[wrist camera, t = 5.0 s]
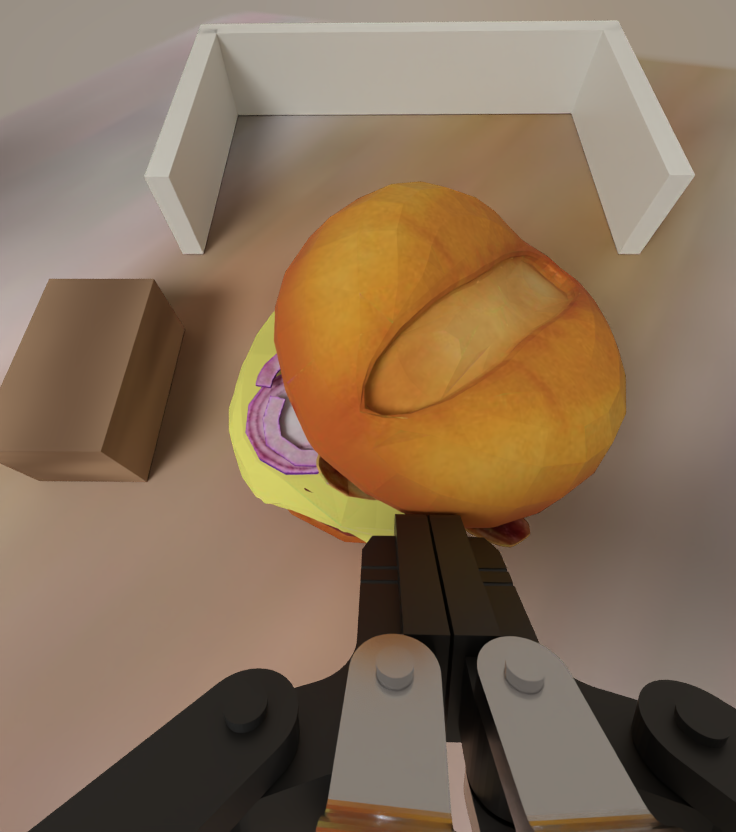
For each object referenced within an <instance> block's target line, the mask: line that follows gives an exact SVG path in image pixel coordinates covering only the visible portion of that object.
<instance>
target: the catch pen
mask: <svg viewBox="0 0 736 832" xmlns="http://www.w3.org/2000/svg"><path fill="white" fill-rule="evenodd" d="M560 113H571V114H572V117H573V120H574V123H575V126H576V129H577V132H578V135H579V138H580V141H581V144H582V147H583V150H584V153H585V156H586V159H587V162H588V165H589V168H590V171H591V174H592V177H593V180H594V183H595V186H596V189H597V192H598V195H599V198H600V201H601V204H602V207H603V210H604V213H605V215H606V218H607V221H608V224H609V227H610V230H611V233H612V236H613V239H614V242H615V245H616V248H617V251H618V254H640V253H641V251H642V250H643V248H644V247H645V246H646V244H647V243H648V241H649V240H650V238H651V237H652V236H653V234H654V233H655V231H656V230H657V229H658V227H659V226H660V224H661V223H662V221H663V220H664V219H665V217H666V216H667V214H668V213H669V212H670V210H671V209H672V207H673V206H674V204H675V203H676V202H677V200H678V199H679V197H680V196H681V195H682V193H683V192H684V190H685V189H686V187H687V186H688V185H689V183H690V182H691V180H692V179H693V178H694V176H695V174H694V172H693V170H692V168H691V166H690V164H689V162H688V160H687V158H686V156H685V154H684V152H683V150H682V148H681V146H680V144H679V142H678V140H677V138H676V136H675V134H674V132H673V130H672V128H671V126H670V124H669V122H668V120H667V118H666V116H665V114H664V112H663V110H662V108H661V106H660V104H659V102H658V100H657V98H656V96H655V94H654V92H653V90H652V88H651V86H650V84H649V82H648V79H647V77H646V75H645V73H644V71H643V69H642V67H641V65H640V63H639V61H638V59H637V57H636V55H635V53H634V51H633V49H632V47H631V45H630V44H629V41H628V39H627V37H626V35H625V33H624V31H623V30H622V27H621V25H620V23H619V21H618V20H612V21H610V20H609V21H502V22H500V21H498V22H496V21H495V22H493V21H492V22H377V23H260V24H201V25H200V28H199V30H198V33H197V36H196V38H195V41H194V44H193V47H192V49H191V52H190V55H189V57H188V60H187V63H186V65H185V68H184V71H183V73H182V76H181V79H180V81H179V84H178V87H177V89H176V92H175V95H174V97H173V100H172V103H171V105H170V108H169V111H168V114H167V116H166V119H165V122H164V124H163V127H162V130H161V132H160V135H159V138H158V140H157V143H156V146H155V148H154V151H153V154H152V156H151V159H150V162H149V164H148V167H147V170H146V172H145V175H144V178H145V180H146V182H147V184H148V186H149V188H150V190H151V192H152V194H153V196H154V198H155V200H156V202H157V204H158V206H159V208H160V210H161V212H162V213H163V215H164V217H165V219H166V221H167V223H168V225H169V227H170V229H171V231H172V233H173V235H174V237H175V239H176V241H177V243H178V245H179V247H180V249H181V251H182V253H183V254H204V250H205V246H206V242H207V238H208V234H209V230H210V226H211V222H212V218H213V214H214V210H215V206H216V201H217V197H218V193H219V189H220V185H221V181H222V177H223V173H224V169H225V165H226V161H227V157H228V153H229V149H230V145H231V141H232V137H233V133H234V129H235V125H236V121H237V117H238V115H368V114H560Z"/></svg>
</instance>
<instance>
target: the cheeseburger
mask: <svg viewBox="0 0 736 832" xmlns="http://www.w3.org/2000/svg"><path fill="white" fill-rule="evenodd" d="M625 414H626V375H625V372H624V368H623V364H622V361H621V357H620V353H619V350H618V347H617V344H616V342H615V339H614V337H613V334H612V332H611V329H610V327H609V324H608V323H607V321H606V319H605V318H604V316H603V314H602V312H601V311H600V309H599V307H598V306H597V304H596V302H595V301H594V299H593V298H592V297H591V296H590V294H589V293H588V292H587V291H586V290H585V288H584V287H583V286H582V285H581V284H580V283H579V282H578V281H577V280H576V279H575V278H573V277H572V276H571V275H569V274H568V273H566V272H565V271H564V270H562V269H561V268H560V267H559V266H558V265H556V264H555V263H554V262H553V261H552V260H551V259H550V258H548V257H547V256H546V255H544V254H543V253H541V252H540V251H538V250H537V249H535V248H534V247H532V246H531V245H529V244H527V243H526V242H524V241H523V240H522V239H521V238H520V237H519V236H518V235H517V234H516V233H515V232H514V231H513V230H512V229H511V228H510V227H509V226H508V225H507V224H506V223H505V222H504V221H503V219H502V218H501V217H500V216H499V215H498V214H497V213H496V212H495V211H494V210H492V209H491V208H490V207H488V206H487V205H485V204H484V203H483V202H481V201H480V200H478V199H477V198H475V197H473V196H470V195H467V194H464V193H461V192H458V191H455V190H452V189H449V188H446V187H442V186H438V185H434V184H430V183H425V182H410V183H398V184H391V185H388V186H386V187H384V188H381V189H379V190H377V191H374V192H372V193H370V194H367V195H365V196H363V197H360V198H358V199H357V200H355V201H354V202H352V203H351V204H349V205H348V206H346V207H345V208H343V209H342V210H340V211H339V212H337V213H336V214H334V215H333V216H331V217H330V218H329V219H328V220H327V221H326V222H325V223H324V224H323V225H322V226H321V227H320V228H318V229H317V230H316V231H315V232H314V233H313V234H312V235H311V236H310V237H309V239H308V240H307V242H306V243H305V244H304V246H303V247H302V249H301V250H300V252H299V253H298V254H297V256H296V257H295V259H294V260H293V262H292V263H291V265H290V266H289V267H288V269H287V270H286V272H285V275H284V278H283V281H282V285H281V288H280V292H279V295H278V299H277V302H276V306H275V311H274V312H273V313H272V315H271V316H270V317H269V319H268V320H267V321H266V323H265V324H264V325H263V327H262V328H261V329H260V331H259V332H258V334H257V335H256V337H255V340H254V342H253V344H252V346H251V348H250V351H249V353H248V355H247V357H246V359H245V361H244V362H243V364H242V367H241V371H240V374H239V377H238V380H237V383H236V386H235V392H234V395H233V398H232V401H231V404H230V407H229V433H230V437H231V441H232V445H233V449H234V453H235V456H236V459H237V462H238V465H239V469H240V472H241V475H242V477H243V479H244V480H245V482H246V483H247V485H248V486H249V487H250V489H251V490H252V492H253V493H254V495H255V496H256V497H257V498H260V499H261V500H262V501H263V502H264V503H266V504H273V505H276V506H279V507H282V508H285V509H288V510H289V512H290V513H291V514H292V515H294V516H296V517H298V518H300V519H302V520H304V521H306V522H308V523H309V524H311V525H313V526H315V527H317V528H319V529H321V530H323V531H325V532H327V533H329V534H331V535H333V536H335V537H336V538H338V539H340V540H342V541H344V542H358V543H367V542H368V541H369V539H370V538H371V537H372V536H394V519H395V514H425V515H426V516H428V514H432V515H460V516H461V519H462V522H463V525H464V528H465V530H466V531H467V532H469V533H471V534H472V535H474V536H476V537H484V538H485V539H486V540H487V541H489V542H490V543H493V544H496V545H499V546H505V547H512V546H515V545H517V544H518V543H520V542H522V541H523V540H524V539H526V538H527V537H528V536H529V535H530V529H529V524H528V522H527V521H526V520H525V519H524V517H527V516H531V515H534V514H537V513H539V512H541V511H542V510H544V509H545V508H547V507H549V506H550V505H552V504H553V503H555V502H556V501H558V500H559V499H561V498H563V497H564V496H565V495H566V494H568V493H569V492H570V491H572V490H573V489H574V488H575V487H577V486H578V485H579V484H581V483H582V482H583V481H584V480H586V479H587V478H588V477H589V476H591V475H592V474H593V473H594V472H595V471H596V469H597V467H598V466H599V464H600V463H601V461H602V459H603V458H604V456H605V454H606V453H607V451H608V450H609V448H610V446H611V445H612V443H613V441H614V439H615V436H616V434H617V432H618V430H619V427H620V425H621V423H622V421H623V419H624V416H625Z"/></svg>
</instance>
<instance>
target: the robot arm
mask: <svg viewBox="0 0 736 832" xmlns="http://www.w3.org/2000/svg"><path fill="white" fill-rule="evenodd" d="M446 742H461V743H462V748H463V754H464V760H465V765H466V767H465V776H464V797H465V802H466V806H467V811H468V815H469V819H470V824H471V828H472V832H736V709H735V708H733V707H732V706H730V705H728V704H727V703H725V702H723V701H722V700H720V699H719V698H717V697H715V696H713V695H712V694H710V693H708V692H706V691H704V690H702V689H700V688H698V687H695V686H692V685H690V684H687V683H683V682H679V681H673V680H658V681H653V682H651V683H649V684H647V685H646V686H645V687H644V688H643V689H642V690H641V692H640V695H639V698H638V700H635V699H632V698H628V697H625V696H622V695H618V694H615V693H612V692H608V691H605V690H602V689H598V688H595V687H592V686H590V685H587V684H585V683H583V682H580V681H578V680H576V679H575V678H573V677H572V675H571V673H570V671H569V670H568V668H567V667H566V665H565V664H564V663H563V662H562V661H561V659H560V658H559V657H558V656H556V655H555V654H554V653H553V652H552V651H550V650H549V649H547V648H546V647H544V646H542V645H541V644H539V641H538V639H537V637H536V635H535V632H534V630H533V628H532V625H531V623H530V621H529V618H528V616H527V614H526V612H525V609H524V607H523V605H522V602H521V600H520V598H519V595H518V593H517V591H516V589H515V586H513V582H512V579H511V577H510V575H509V572H507V568H506V566H505V563H504V561H503V559H502V556H501V554H500V552H499V551H498V550H497V549H496V548H495V547H494V546H493V545H492V544H491V543H490V542H489V541H487V540H486V539H485V538H484V537H468V536H467V533H466V530H465V528H464V525H463V522H462V519H461V516H460V515H432V514H428V516H426V515H425V514H395V519H394V536H372V537H371V538H370V539H369V541H368V542H367V544H366V545H365V546H364V548H363V549H362V565H361V583H360V599H359V616H358V634H357V644H356V648H355V651H354V653H353V655H352V656H351V658H350V660H349V661H348V662H347V663H346V665H344V666H343V667H342V668H341V669H340V670H339V671H337V672H336V673H335V674H333V675H331V676H329V677H327V678H326V679H323V680H320V681H317V682H314V683H310V684H307V685H303V686H300V687H296V688H294V687H293V686H292V684H291V683H290V681H289V680H288V679H287V678H286V677H284V676H283V675H281V674H280V673H277V672H275V671H273V670H268V669H260V668H257V669H248V670H244V671H240V672H238V673H235V674H233V675H231V676H229V677H227V678H225V679H224V680H222V681H221V682H219V683H218V684H216V685H215V686H214V687H213V688H211V689H210V690H209V691H208V692H206V693H205V694H204V695H202V696H201V697H200V698H199V699H197V700H196V701H195V702H193V703H192V704H191V705H190V706H188V707H187V708H186V709H184V710H183V711H182V712H181V713H179V714H178V715H177V716H175V717H174V718H173V719H172V720H170V721H169V722H168V723H167V724H165V725H164V726H163V727H161V728H160V729H159V730H158V731H156V732H155V733H154V734H152V735H151V736H150V737H149V738H147V739H146V740H145V741H143V742H142V743H141V744H140V745H138V746H137V747H136V748H134V749H133V750H132V751H131V752H129V753H128V754H127V755H126V756H124V757H123V758H122V759H120V760H119V761H118V762H117V763H115V764H114V765H113V766H111V767H110V768H109V769H108V770H106V771H105V772H104V773H102V774H101V775H100V776H99V777H97V778H96V779H95V780H93V781H92V782H91V783H90V784H88V785H87V786H86V787H85V788H83V789H82V790H81V791H79V792H78V793H77V794H76V795H74V796H73V797H72V798H70V799H69V800H68V801H67V802H65V803H64V804H63V805H61V806H60V807H59V808H58V809H56V810H55V811H54V812H53V813H51V814H50V815H49V816H47V817H46V818H45V819H44V820H42V821H41V822H40V823H38V824H37V825H36V826H35V827H33V828H32V829H31V830H29V831H28V832H456V831H454V830H453V825H452V817H451V805H450V791H449V777H448V763H447V749H446Z"/></svg>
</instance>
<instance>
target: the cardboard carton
mask: <svg viewBox="0 0 736 832" xmlns="http://www.w3.org/2000/svg"><path fill="white" fill-rule="evenodd" d="M184 330H185V328H184V326H183V325H182V323H181V322H180V320H179V318H178V317H177V315H176V314H175V312H174V310H173V309H172V307H171V306H170V304H169V302H168V301H167V299H166V298H165V296H164V294H163V293H162V291H161V290H160V288H159V286H158V285H157V283H156V282H155V280H154V279H49V281H48V283H47V285H46V287H45V290H44V292H43V294H42V296H41V298H40V301H39V303H38V305H37V307H36V310H35V312H34V314H33V316H32V318H31V321H30V323H29V325H28V327H27V330H26V332H25V334H24V336H23V338H22V341H21V343H20V345H19V347H18V350H17V352H16V354H15V356H14V358H13V361H12V363H11V365H10V367H9V370H8V372H7V374H6V376H5V378H4V381H3V383H2V385H1V387H0V463H1V464H3V465H5V466H7V467H10V468H12V469H14V470H16V471H18V472H21V473H23V474H25V475H27V476H30V477H32V478H34V479H36V480H39V481H110V482H147V479H148V475H149V471H150V467H151V463H152V459H153V455H154V451H155V447H156V443H157V439H158V435H159V431H160V427H161V423H162V419H163V415H164V410H165V406H166V402H167V398H168V394H169V390H170V386H171V382H172V378H173V374H174V370H175V366H176V362H177V358H178V354H179V350H180V346H181V342H182V338H183V334H184Z"/></svg>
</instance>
